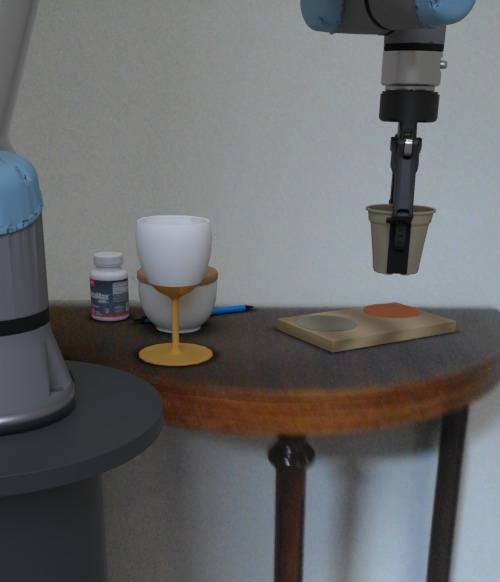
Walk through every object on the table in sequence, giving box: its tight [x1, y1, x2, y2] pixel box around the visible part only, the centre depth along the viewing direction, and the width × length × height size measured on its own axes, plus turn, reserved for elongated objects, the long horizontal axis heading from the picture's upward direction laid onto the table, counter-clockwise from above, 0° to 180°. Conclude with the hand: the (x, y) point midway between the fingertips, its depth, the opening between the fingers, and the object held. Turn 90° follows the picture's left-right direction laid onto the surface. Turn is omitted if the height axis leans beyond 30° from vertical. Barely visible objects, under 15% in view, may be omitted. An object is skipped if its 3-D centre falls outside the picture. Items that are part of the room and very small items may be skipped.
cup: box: [135, 214, 214, 367], centre depth 98 cm, size 9×9×16 cm
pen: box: [132, 304, 255, 324], centre depth 118 cm, size 1×19×1 cm
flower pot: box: [365, 203, 437, 276], centre depth 114 cm, size 9×9×9 cm
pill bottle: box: [89, 251, 130, 322], centre depth 116 cm, size 5×5×9 cm
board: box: [276, 301, 457, 354], centre depth 113 cm, size 21×13×2 cm, turn 121°
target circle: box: [363, 303, 420, 318], centre depth 117 cm, size 8×8×1 cm
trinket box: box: [136, 265, 219, 334], centre depth 111 cm, size 11×11×9 cm
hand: (395, 266), depth 115 cm, fingers closed on flower pot, 8 cm apart
